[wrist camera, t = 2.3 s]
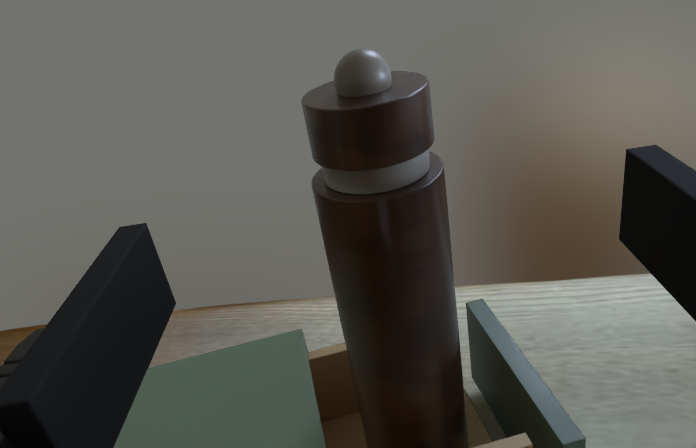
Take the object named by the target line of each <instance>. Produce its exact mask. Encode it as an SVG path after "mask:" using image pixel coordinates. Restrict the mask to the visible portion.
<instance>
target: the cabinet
mask: <svg viewBox="0 0 696 448" xmlns="http://www.w3.org/2000/svg"><path fill="white" fill-rule="evenodd" d="M307 352H308V350H307V346H306V342H305V338H304V334H303V330H302V329H299V330H295V331H292V332H288V333H284V334H280V335H276V336H272V337H268V338H264V339H260V340H256V341H252V342H249V343H245V344H241V345H237V346H233V347H229V348H225V349H221V350H217V351H213V352H209V353H206V354H202V355H198V356H194V357H190V358H186V359H182V360H178V361H174V362H170V363H167V364H163V365H159V366H155V367H151V368H148V369H147V371H146V374H145V376H144V378H143V381H142V383H141V385H140V387H139V390H138V392H137V394H136V397H135V399H134V401H133V404H132V406H131V408H130V411H129V413H128V415H127V418H126V420H125V422H124V424H123V427H122V429H121V431H120V434H119V436H118V438H117V441H116V443H115V445H114V448H326V444H325V439H324V434H323V429H322V424H321V419H320V414H319V409H318V403H317V398H316V393H315V388H314V383H313V378H312V373H311V368H310V363H309V358H308V353H307Z"/></svg>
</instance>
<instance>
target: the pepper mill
mask: <svg viewBox="0 0 696 448" xmlns="http://www.w3.org/2000/svg"><path fill="white" fill-rule="evenodd" d="M301 103H302V107H303V112H304V117H305V122H306V127H307V131H308V136H309V141H310V146H311V151H312V156H313V159H314V161H315V162H316V163H318V164H319V165H321V166H322V168H321V169H320V170H319V171H318V172H317V173H316V174H315V176H314V177H313V179H312V189H313V194H314V198H315V203H316V208H317V213H318V217H319V222H320V226H321V231H322V236H323V241H324V245H325V250H326V254H327V259H328V264H329V269H330V273H331V278H332V283H333V288H334V292H335V297H336V302H337V307H338V311H339V316H340V321H341V325H342V330H343V335H344V340H345V344H346V349H347V354H348V358H349V363H350V368H351V372H352V377H353V382H354V387H355V391H356V396H357V401H358V405H359V410H360V415H361V419H362V424H363V429H364V434H365V438H366V443H367V448H469V444H468V433H467V421H466V410H465V399H464V388H463V376H462V365H461V354H460V343H459V331H458V320H457V309H456V298H455V286H454V275H453V264H452V253H451V242H450V230H449V219H448V209H447V196H446V187H445V186H446V185H445V174H444V164H443V161H442V160H441V159H440V157H439V156H437V155H435V154H434V153H432V152H430V151H429V150H428V149H429V148H430V147H431V146H432V144H433V141H434V130H433V119H432V109H431V99H430V88H429V80H428V79H427V77H426V76H424V75H422V74H419V73H414V72H405V71H390V68H389V65H388V63H387V62H386V60H385V59H384V58H383V57H382V56H381V55H380V54H378V53H377V52H374V51H372V50H369V49H358V50H353V51H351V52H349V53H348V54H346V55H345V56H344V57H343V58H342V59H341V60H340V61H339V63H338V65H337V67H336V69H335V73H334V81H332V82H329V83H326V84H323V85H321V86H319V87H317V88H314V89H313V90H311V91H309V92H308V93H306V94H305V95H304V96H303V98H302V101H301Z"/></svg>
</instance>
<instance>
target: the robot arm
mask: <svg viewBox="0 0 696 448" xmlns="http://www.w3.org/2000/svg"><path fill="white" fill-rule="evenodd" d="M619 239H620V241H621V242H622V243H623V244H624V245H625V246H626V247H627V248H628V249H629V250H630V251H631V252H632V253H633V255H634V256H635V257H636V258H637V259H638V260H639V261H640V262H641V263H642V264H643V265H644V266H645V267H646V268H647V270H648V271H649V272H650V273H651V274H652V275H653V276H654V277H655V278H656V279H657V280H658V281H659V282H660V283H661V285H662V286H663V287H664V288H665V289H666V290H667V291H668V292H669V293H670V294H671V295H672V296H673V297H674V298H675V300H676V301H677V302H678V303H679V304H680V305H681V306H682V307H683V308H684V309H685V310H686V311H687V312H688V313H689V315H690V316H691V317H692V318H693V319H694V320H695V321H696V171H695V170H693V169H692V168H690V167H689V166H687V165H686V164H684V163H683V162H681V161H680V160H678V159H676V158H675V157H674V156H672V155H671V154H669V153H668V152H666V151H664V150H663V149H661V148H660V147H658V146H657V145H651V146H645V147H638V148H632V149H627V150H626V159H625V173H624V184H623V197H622V209H621V223H620V235H619ZM175 304H176V302H175V299H174V297H173V294H172V292H171V289H170V286H169V283H168V281H167V278H166V275H165V273H164V270H163V267H162V264H161V262H160V259H159V257H158V254H157V251H156V248H155V246H154V243H153V240H152V238H151V235H150V232H149V230H148V227H147V224H146V223H144V224H137V225H130V226H124V227H119V228H118V230H117V231H116V233H115V234H114V235H113V237H112V238H111V239H110V241H109V242H108V243H107V245H106V246H105V247H104V249H103V250H102V251H101V253H100V254H99V256H98V257H97V258H96V260H95V261H94V262H93V264H92V265H91V266H90V268H89V269H88V271H87V272H86V273H85V274H84V276H83V277H82V279H81V280H80V281H79V283H78V284H77V285H76V287H75V288H74V289H73V291H72V292H71V293H70V295H69V297H67V299H66V300H65V302H64V303H63V304H62V306H61V307H60V308H59V310H58V311H57V312H56V314H55V315H54V316H53V318H52V319H51V321H50V322H49V323H48V325H47V326H46V327H45V328H44V329H37V330H36V331H34V332H33V333H32V334H31V335H29V336H28V337H27V338H26V339H24V340H23V341H22V342H21V343H19V344H18V345H17V346H16V347H15V349H14V350H13V351H12V353H11V354H10V355H9V356H8V358H7V359H6V360H5V362H4V365H1V367H0V448H114V445H115V443H116V441H117V438H118V436H119V434H120V431H121V429H122V427H123V424H124V422H125V420H126V418H127V415H128V413H129V411H130V408H131V406H132V404H133V401H134V399H135V397H136V394H137V392H138V390H139V387H140V385H141V383H142V381H143V378H144V376H145V374H146V371H147V369H148V367H149V364H150V362H151V360H152V357H153V355H154V353H155V351H156V348H157V346H158V344H159V341H160V339H161V337H162V334H163V332H164V330H165V327H166V325H167V323H168V320H169V318H170V316H171V314H172V311H173V309H174V306H175Z"/></svg>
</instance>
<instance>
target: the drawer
mask: <svg viewBox="0 0 696 448" xmlns="http://www.w3.org/2000/svg"><path fill="white" fill-rule="evenodd" d="M466 309H467V322H468V334H469V347H470V360H471V372H472V378H473V380H474V382H475V383H476V385H477V387H478V388H479V390H480V392H481V394H482V395H483V397H484V399H485V401H486V402H487V404H488V406H489V408H490V409H491V411H492V413H493V415H494V416H495V418H496V420H497V421H498V423H499V425H500V427H501V428H502V430H503V432H504V434H505V435H506V437H507V438H504V439H501V440H497V441H494V442H493V440H492V438H491V436H490V435H489V433H488V431H487V429H486V427H485V425H484V424H483V422H482V420H481V418H480V416H479V414H478V413H477V411H476V409H475V407H474V405H473V403H472V401H471V400H470V398H469V396H468V394H467V392H466V390H465V389H464V399H465V410H466V421H467V433H468V444H469V448H585V442H586V439H585V437H584V436H583V434H582V433H581V432H580V430H579V429H578V428H577V426H576V425H575V424H574V422H573V421H572V420H571V418H570V417H569V415H568V414H567V413H566V411H565V410H564V409H563V407H562V406H561V405H560V403H559V402H558V401H557V399H556V398H555V396H554V395H553V394H552V392H551V391H550V390H549V388H548V387H547V386H546V384H545V383H544V382H543V380H542V379H541V377H540V376H539V375H538V373H537V372H536V371H535V369H534V368H533V367H532V365H531V364H530V363H529V361H528V360H527V358H526V357H525V356H524V354H523V353H522V352H521V350H520V349H519V348H518V346H517V345H516V344H515V342H514V341H513V339H512V338H511V337H510V335H509V334H508V333H507V331H506V330H505V329H504V327H503V326H502V325H501V323H500V322H499V320H498V319H497V318H496V316H495V315H494V314H493V312H492V311H491V310H490V308H489V307H488V306H487V304H486V303H485V301H484V300H483V299H480V300H476V301H472V302H468V303H466ZM307 353H308V358H309V363H310V368H311V373H312V378H313V383H314V388H315V393H316V398H317V403H318V409H319V414H320V419H321V424H322V429H323V434H324V439H325V444H326V448H367V443H366V438H365V434H364V429H363V424H362V419H361V415H360V410H359V405H358V401H357V396H356V391H355V387H354V382H353V377H352V372H351V368H350V363H349V358H348V354H347V349H346V344H345V343H341V344H337V345H334V346H330V347H326V348H322V349H318V350H314V351H311V352H307ZM463 388H464V387H463Z"/></svg>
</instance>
